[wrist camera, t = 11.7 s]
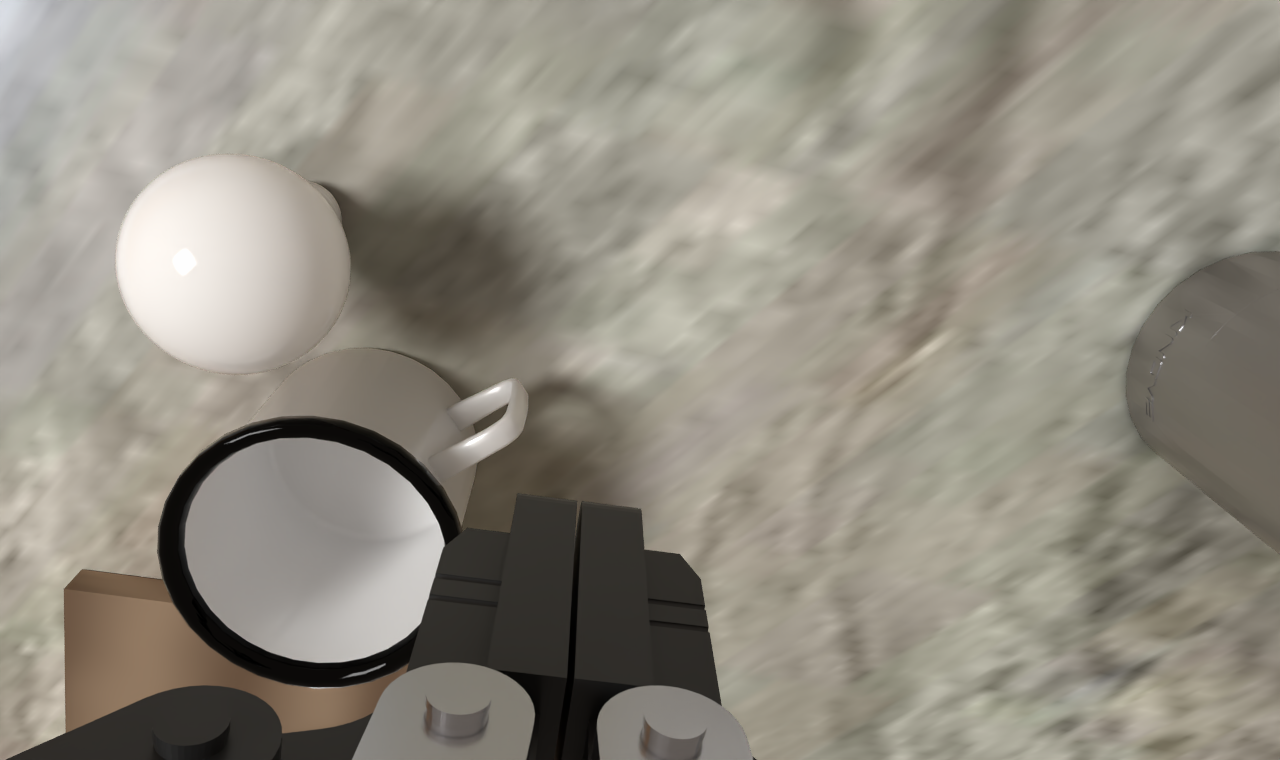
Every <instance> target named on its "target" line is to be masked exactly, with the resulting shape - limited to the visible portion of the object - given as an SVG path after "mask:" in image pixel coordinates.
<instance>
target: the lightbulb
mask: <svg viewBox="0 0 1280 760" xmlns="http://www.w3.org/2000/svg"><path fill="white" fill-rule="evenodd" d="M115 271H116V278H117V283H118V287H119V291H120V294H121V296H122V299H123V302H124V304H125V306H126V308H127V310H128V312H129V314H130V315H131V317H132V319H133V320H134V322H135V323H136V324H137V326H138V327H139V328H140V330H141V331H142V332H143V333H144V334H145V335H146V336H147V337H148V338H149V339H150V340H151V341H152V342H153V343H154V344H155V345H156V346H158V347H159V348H160V349H161V350H163V351H164V352H166V353H167V354H169V355H170V356H172V357H174V358H175V359H177V360H179V361H181V362H183V363H185V364H187V365H190V366H192V367H195V368H198V369H201V370H205V371H209V372H214V373H219V374H228V375H248V374H257V373H262V372H267V371H270V370H274V369H277V368H280V367H282V366H285V365H287V364H289V363H291V362H293V361H295V360H297V359H299V358H300V357H302V356H303V355H305V354H306V353H308V352H309V351H310V350H312V349H313V348H314V347H315V346H316V345H317V344H318V343H320V341H321V340H322V339H323V338H324V337H325V336H326V335H327V334H328V333H329V331H330V330H331V329H332V327H333V326H334V324H335V323H336V321H337V319H338V317H339V316H340V314H341V312H342V309H343V307H344V304H345V302H346V298H347V295H348V291H349V286H350V278H351V258H350V251H349V246H348V242H347V238H346V235H345V232H344V229H343V227H342V215H341V210H340V207H339V205H338V203H337V201H336V199H335V198H334V197H333V195H332V194H331V193H330V192H329V191H328V190H327V189H325V188H324V187H322V186H321V185H319V184H317V183H315V182H312V181H307V180H305V179H304V178H303V177H301V176H300V175H298V174H297V173H295V172H294V171H292V170H290V169H288V168H286V167H284V166H282V165H280V164H278V163H275V162H273V161H270V160H267V159H264V158H260V157H256V156H251V155H244V154H213V155H206V156H201V157H197V158H194V159H190V160H187V161H184V162H182V163H180V164H177V165H175V166H173V167H171V168H170V169H168V170H166V171H165V172H163V173H161V174H160V175H159V176H157V177H156V178H155V179H154V180H152V181H151V182H150V183H149V184H148V185H147V186H146V187H145V188H144V189H143V190H142V191H141V192H140V193H139V195H138V196H137V197H136V198H135V200H134V201H133V203H132V204H131V206H130V207H129V209H128V211H127V213H126V215H125V217H124V219H123V221H122V224H121V227H120V230H119V233H118V238H117V243H116V250H115Z"/></svg>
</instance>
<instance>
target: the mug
mask: <svg viewBox="0 0 1280 760" xmlns="http://www.w3.org/2000/svg"><path fill="white" fill-rule="evenodd" d="M507 404H508V408H507V411H506V413H505V414H504V416H503V417H502V418H501V419H500V420H498V421H497V422H495V423H494V424H493V425H491V426H489V427H488V428H486V429H484V430H483V431H481V432H479V433H477V434H476V433H475V430H474V426H473V424H474V423H476V422H478V421H479V420H481V419H483V418H484V417H486V416H488V415H490V414H491V413H493V412H495V411H496V410H498V409H500V408H502V407H503V406H505V405H507ZM527 413H528V394H527V392H526V390H525V389H524V387H523V386H522V384H521V382H520V381H519V380H518V379H515V378H510V379H506V380H504V381H501V382H499V383H497V384H495V385H493V386H491V387H489V388H487V389H484V390H482V391H480V392H478V393H476V394H474V395H472V396H470V397H468V398H466V399H464V400H461V399H460V398H459V396H458V395H457V394H456V393H455V391H454V390H453V389H452V388H451V386H450V385H449V384H448V383H447V382H446V381H444V380H443V379H442V378H441V377H440V376H438V375H437V374H436V373H435V372H434V371H433V370H431V369H429V368H428V367H426V366H424V365H422V364H421V363H419V362H417V361H415V360H414V359H411V358H408V357H406V356H403V355H400V354H397V353H394V352H391V351H385V350H379V349H373V348H349V349H344V350H339V351H334V352H330V353H326V354H324V355H321V356H319V357H317V358H314V359H312V360H310V361H308V362H306V363H305V364H303V365H302V366H301V367H299V368H298V369H296V370H295V371H293V372H292V373H291V374H290V375H289V376H288V377H287V378H286V379H285V380H284V381H283V382H282V384H281V385H280V386H279V387H278V388H277V389H276V390H275V392H274V393H273V394H272V395H271V396H270V398H269V399H268V400H267V401H266V402H265V403H264V405H263V406H262V407H261V408H260V409H259V411H258V412H257V413H256V414H255V415H254V417H253V418H252V419H251V420H250V421H249V423H248V424H247V425H245V426H243V427H240V428H238V429H236V430H233V431H231V432H229V433H226V434H224V435H223V436H221V437H220V438H219V439H217V440H216V441H214V442H213V443H211V444H210V445H209V446H207V447H206V448H204V449H203V450H201V452H200V453H199V454H198V455H197V456H196V457H195V458H194V459H193V460H192V461H191V463H190V464H189V465H188V466H187V467H186V468H185V469H184V470H183V472H182V473H181V475H180V476H179V478H178V479H177V481H176V483H175V485H174V487H173V488H172V490H171V492H170V494H169V496H168V497H167V499H166V501H165V504H164V508H163V512H162V515H161V519H160V522H159V526H158V549H157V554H158V559H159V564H160V569H161V575H162V579H163V582H164V584H165V586H166V589H167V591H168V594H169V596H170V598H171V601H172V603H173V605H174V606H175V608H176V609H177V611H178V612H179V614H180V615H181V617H182V618H183V620H184V621H185V622H186V624H187V625H188V627H189V628H190V629H191V630H192V631H193V632H194V633H195V634H196V635H197V636H198V637H199V638H200V639H201V640H202V641H203V642H204V643H205V644H206V645H207V646H208V647H209V648H211V649H212V650H213V651H215V652H216V653H218V654H219V655H220V656H222V657H223V658H225V659H226V660H227V661H229V662H230V663H232V664H234V665H236V666H238V667H240V668H242V669H244V670H246V671H248V672H250V673H252V674H254V675H256V676H259V677H262V678H265V679H269V680H272V681H275V682H279V683H282V684H285V685H292V686H299V687H307V688H314V689H315V688H344V687H349V686H354V685H359V684H364V683H369V682H372V681H375V680H377V679H380V678H382V677H385V676H387V675H390V674H393V673H395V672H397V671H398V670H400V669H402V668H403V667H405V666H406V665H408V664H409V661H410V658H411V654H412V651H413V648H414V644H415V641H416V637H417V634H418V631H419V627H420V624H421V621H422V617H423V614H424V611H425V607H426V604H427V600H429V594H430V590H431V587H432V584H433V580H434V578H435V574H436V570H437V567H438V563H439V560H440V557H441V553H442V550H443V547H445V546H446V545H447V544H448V543H449V542H451V541H452V540H453V539H454V538H456V537H457V536H458V535H459V534H461V533H462V532H463V531H462V523H463V519H464V516H465V512H466V508H467V505H468V501H469V497H470V494H471V490H472V486H473V483H474V479H475V475H476V469H477V463H478V462H480V461H481V460H483V459H485V458H487V457H489V456H490V455H492V454H494V453H496V452H497V451H499V450H501V449H502V448H504V447H506V446H508V445H509V444H510V443H512V442H513V441H514V440H515V439H517V438H518V437H519V435H520V434H521V433H522V432H523V429H524V425H525V421H526V417H527Z"/></svg>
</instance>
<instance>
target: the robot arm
mask: <svg viewBox="0 0 1280 760" xmlns="http://www.w3.org/2000/svg"><path fill="white" fill-rule="evenodd" d="M1126 398H1127V403H1128V407H1129V412H1130V416H1131V419H1132V421H1133V423H1134V425H1135V427H1136V429H1137V431H1138V433H1139V435H1140V436H1141V437H1142V439H1143V440H1144V441H1145V442H1146V443H1147V444H1148V445H1149V446H1150V448H1151V449H1152V450H1153V451H1154V452H1155V453H1156V454H1158V455H1159V456H1160V457H1161V458H1162V459H1164V460H1165V461H1166V462H1167V463H1169V464H1170V465H1171V466H1172V467H1174V468H1175V469H1176V470H1177V471H1178V472H1180V473H1181V474H1182V475H1183V476H1185V477H1186V478H1187V479H1188V480H1189V481H1191V482H1192V483H1193V484H1194V485H1196V486H1197V487H1198V488H1199V489H1201V490H1202V491H1203V492H1204V493H1205V494H1206V495H1207V496H1208V497H1210V498H1211V499H1212V500H1213V501H1215V502H1216V503H1217V504H1218V505H1219V506H1221V507H1222V508H1223V509H1224V510H1226V511H1227V512H1228V513H1229V514H1230V515H1232V516H1233V517H1234V518H1235V519H1237V520H1238V521H1239V522H1240V523H1242V524H1243V525H1244V526H1245V527H1246V528H1248V529H1249V530H1250V531H1251V532H1253V533H1254V534H1255V535H1256V536H1257V537H1259V538H1260V539H1261V540H1262V541H1264V542H1265V543H1266V544H1267V545H1269V546H1270V547H1271V548H1272V549H1273V550H1275V551H1276V552H1277V553H1278V554H1280V252H1277V251H1275V252H1250V253H1246V254H1242V255H1238V256H1234V257H1230V258H1225V259H1223V260H1221V261H1219V262H1216V263H1214V264H1212V265H1210V266H1207V267H1205V268H1203V269H1201V270H1199V271H1198V272H1196V273H1195V274H1193V275H1192V276H1190V277H1189V278H1187V279H1186V280H1184V281H1183V282H1182V283H1180V284H1179V285H1177V286H1176V287H1175V288H1174V289H1173V290H1172V291H1171V292H1170V293H1169V294H1168V295H1167V296H1166V297H1165V298H1164V299H1163V300H1162V301H1161V302H1160V303H1159V304H1158V305H1157V307H1156V308H1155V309H1154V311H1153V312H1152V314H1151V315H1150V316H1149V318H1148V319H1147V321H1146V322H1145V323H1144V325H1143V326H1142V328H1141V331H1140V333H1139V335H1138V337H1137V339H1136V341H1135V344H1134V346H1133V348H1132V351H1131V355H1130V359H1129V364H1128V368H1127V372H1126ZM576 509H577V501H574V500H566V499H559V498H551V497H543V496H535V495H527V494H519V493H518V494H517V499H516V505H515V510H514V516H513V521H512V527H511V533H504V532H496V531H488V530H480V529H472V528H467V529H466V530H464V531H463V532H462V533H461V534H459V535H458V536H457V537H456V538H454V539H453V540H452V541H451V542H449V543H448V544H447V545H446V546H445V547H443V550H442V553H441V557H440V560H439V563H438V567H437V570H436V574H435V578H434V580H433V584H432V587H431V590H430V594H429V600H427V604H426V607H425V611H424V614H423V617H422V621H421V624H420V627H419V631H418V634H417V637H416V641H415V644H414V648H413V651H412V654H411V658H410V661H409V664H408V668H407V671H406V673H405V674H403V675H401V676H400V677H398V678H397V679H395V680H394V681H393V682H391V683H390V685H389V686H388V687H387V688H386V689H385V690H384V692H383V693H382V695H381V697H380V699H379V701H378V703H377V705H376V707H375V710H374V712H373V713H371V714H369V715H368V716H366V717H364V718H361V719H358V720H356V721H353V722H350V723H347V724H343V725H339V726H335V727H329V728H323V729H316V730H307V731H299V732H290V733H282V726H281V722H280V719H279V717H278V715H277V714H276V712H275V711H274V709H273V708H272V707H271V706H270V705H269V704H267V703H266V702H265V701H263V700H262V699H260V698H259V697H257V696H255V695H253V694H250V693H248V692H246V691H242V690H239V689H235V688H230V687H223V686H210V685H200V686H187V687H181V688H175V689H171V690H167V691H163V692H160V693H157V694H154V695H151V696H149V697H146V698H144V699H141V700H139V701H137V702H135V703H132V704H130V705H128V706H126V707H123V708H121V709H119V710H117V711H114V712H112V713H110V714H108V715H105V716H103V717H101V718H99V719H96V720H94V721H92V722H90V723H87V724H85V725H83V726H81V727H78V728H76V729H74V730H72V731H69V732H67V733H65V734H63V735H60V736H58V737H56V738H53V739H51V740H49V741H47V742H44V743H42V744H40V745H38V746H35V747H33V748H31V749H29V750H26V751H24V752H22V753H20V754H17V755H15V756H13V757H11V758H8V759H6V760H756V759H755V758H754V757H753V756H752V753H751V750H750V747H749V743H748V740H747V737H746V735H745V732H744V730H743V728H742V727H741V725H740V724H739V722H738V721H737V720H736V719H735V717H734V716H733V715H732V714H731V713H730V712H728V711H727V710H726V709H725V708H723V707H722V705H721V699H720V693H719V687H718V681H717V675H716V669H715V663H714V657H713V651H712V645H711V639H710V633H709V632H708V621H707V615H706V610H704V608H705V603H704V597H703V591H702V585H701V579H700V578H699V576H698V575H697V574H696V573H695V572H694V571H693V569H692V568H691V567H690V566H689V565H688V563H687V562H686V561H685V560H684V559H683V557H682V556H681V555H680V554H675V553H667V552H659V551H651V550H644V539H643V526H642V512H641V509H638V508H631V507H623V506H615V505H607V504H599V503H591V502H584V501H582V502H581V506H580V511H579V517H578V523H577V530H576V536H575V527H576Z"/></svg>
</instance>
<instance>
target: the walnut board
mask: <svg viewBox="0 0 1280 760" xmlns="http://www.w3.org/2000/svg"><path fill="white" fill-rule="evenodd" d="M64 631H65V714H66V733H67V732H69V731H72V730H74V729H76V728H78V727H81V726H83V725H85V724H87V723H90V722H92V721H94V720H96V719H99V718H101V717H103V716H105V715H108V714H110V713H112V712H114V711H117V710H119V709H121V708H123V707H126V706H128V705H130V704H132V703H135V702H137V701H139V700H141V699H144V698H146V697H149V696H151V695H154V694H157V693H160V692H163V691H167V690H171V689H175V688H181V687H187V686H200V685H210V686H223V687H230V688H235V689H239V690H242V691H246V692H248V693H250V694H253V695H255V696H257V697H259V698H260V699H262V700H263V701H265V702H266V703H267V704H269V705H270V706H271V707H272V708H273V709H274V711H275V712H276V714H277V715H278V717H279V719H280V722H281V726H282V733H290V732H299V731H307V730H316V729H323V728H329V727H335V726H339V725H343V724H347V723H350V722H353V721H356V720H358V719H361V718H364V717H366V716H368V715H369V714H371V713H373V712H374V710H375V707H376V705H377V703H378V701H379V699H380V697H381V695H382V693H383V692H384V690H385V689H386V688H387V687H388V686H389V685H390V683H391V682H393V681H394V680H395V679H397V678H398V677H400V676H401V675H403V674H405V673H406V671H407V668H408V665H406V666H405V667H403V668H402V669H400V670H398V671H397V672H395V673H393V674H390V675H387V676H385V677H382V678H380V679H377V680H375V681H372V682H369V683H364V684H359V685H354V686H349V687H344V688H315V689H314V688H307V687H299V686H292V685H285V684H282V683H279V682H275V681H272V680H269V679H265V678H262V677H259V676H256V675H254V674H252V673H250V672H248V671H246V670H244V669H242V668H240V667H238V666H236V665H234V664H232V663H230V662H229V661H227V660H226V659H225V658H223V657H222V656H220V655H219V654H218V653H216V652H215V651H213V650H212V649H211V648H209V647H208V646H207V645H206V644H205V643H204V642H203V641H202V640H201V639H200V638H199V637H198V636H197V635H196V634H195V633H194V632H193V631H192V630H191V629H190V628H189V627H188V625H187V624H186V622H185V621H184V620H183V618H182V617H181V615H180V614H179V612H178V611H177V609H176V608H175V606H174V605H173V603H172V601H171V598H170V596H169V594H168V591H167V589H166V586H165V584H164V582H163V580H160V579H152V578H144V577H136V576H129V575H121V574H113V573H106V572H98V571H90V570H83V569H82V570H81V571H80V572H79V573H78V574H77V575H76V576H75V578H74V579H73V580H72V581H71V582H70V583H69V584H68V585H67V586H66V587H65V588H64Z"/></svg>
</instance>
